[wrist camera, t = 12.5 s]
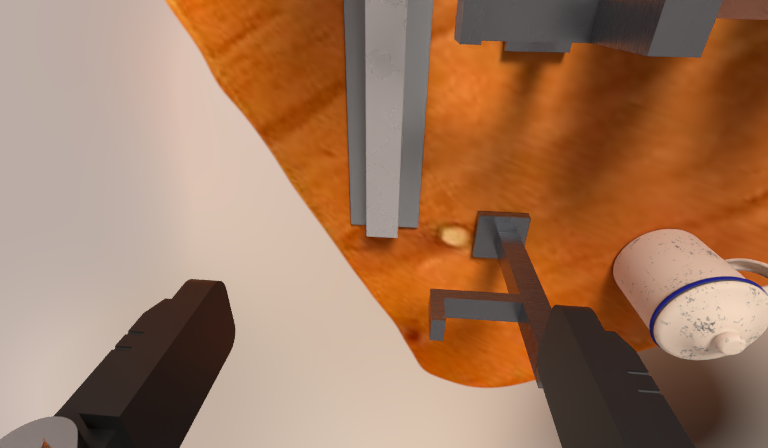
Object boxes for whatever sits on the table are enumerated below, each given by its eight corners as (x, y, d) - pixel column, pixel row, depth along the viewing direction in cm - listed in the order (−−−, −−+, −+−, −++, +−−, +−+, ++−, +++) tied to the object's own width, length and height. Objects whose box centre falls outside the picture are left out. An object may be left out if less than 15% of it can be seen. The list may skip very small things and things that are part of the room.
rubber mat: (342, -73, 28) (341, -75, 28) (437, -73, 28) (438, -74, 27) (351, 221, 41) (351, 224, 40) (417, 224, 40) (417, 227, 40)
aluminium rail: (369, -65, 28) (364, -72, 25) (410, -65, 28) (410, -72, 25) (369, 221, 40) (366, 236, 37) (398, 222, 40) (397, 238, 37)
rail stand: (447, -24, 29) (480, -55, 14) (581, -22, 29) (774, -52, 13) (425, 249, 42) (429, 394, 26) (518, 254, 41) (579, 406, 26)
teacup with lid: (614, 304, 44) (673, 394, 33) (603, 240, 40) (666, 320, 30) (736, 276, 40) (841, 366, 30) (738, 204, 37) (859, 280, 26)
